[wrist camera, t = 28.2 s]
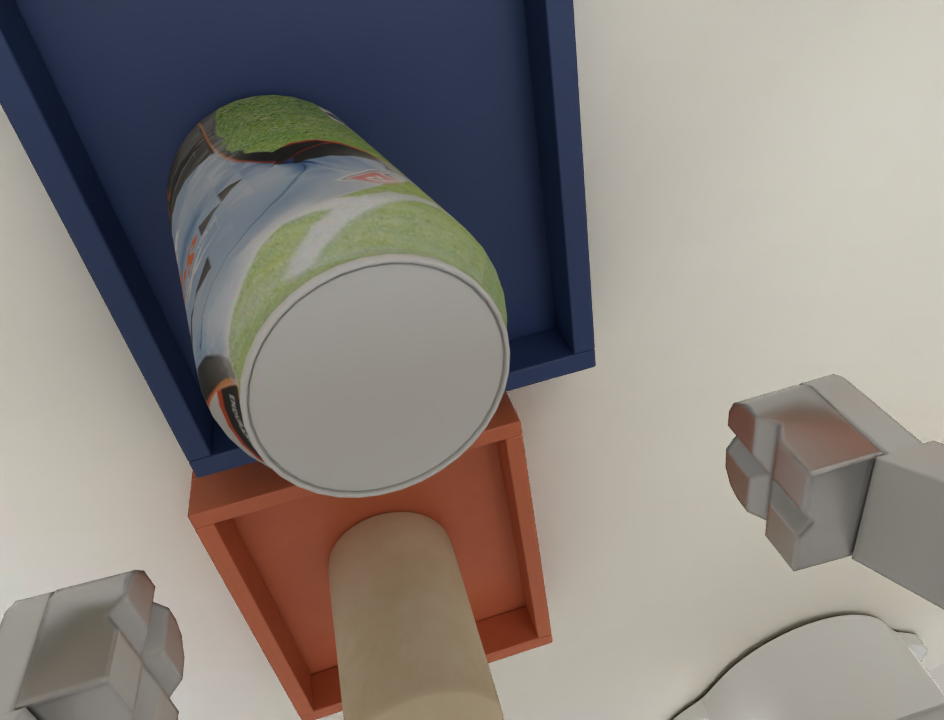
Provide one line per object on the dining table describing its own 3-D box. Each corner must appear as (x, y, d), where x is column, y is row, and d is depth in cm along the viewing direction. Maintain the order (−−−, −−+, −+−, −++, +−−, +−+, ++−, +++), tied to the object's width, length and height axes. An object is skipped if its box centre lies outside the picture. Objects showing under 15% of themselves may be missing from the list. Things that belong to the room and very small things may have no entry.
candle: (355, 499, 29) (394, 730, 21) (471, 521, 32) (544, 737, 24) (308, 589, 32) (327, 831, 24) (419, 604, 34) (471, 827, 26)
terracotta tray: (536, 601, 37) (553, 642, 35) (300, 676, 36) (303, 724, 34) (501, 383, 29) (520, 420, 27) (191, 469, 27) (187, 516, 25)
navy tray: (572, 332, 28) (596, 367, 26) (201, 434, 27) (196, 479, 24) (524, -242, 18) (557, -259, 16) (-82, -138, 16) (-130, -142, 14)
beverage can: (126, 145, 20) (8, 386, 10) (358, 26, 20) (458, 157, 10) (250, 314, 24) (247, 606, 14) (447, 214, 24) (581, 441, 14)
